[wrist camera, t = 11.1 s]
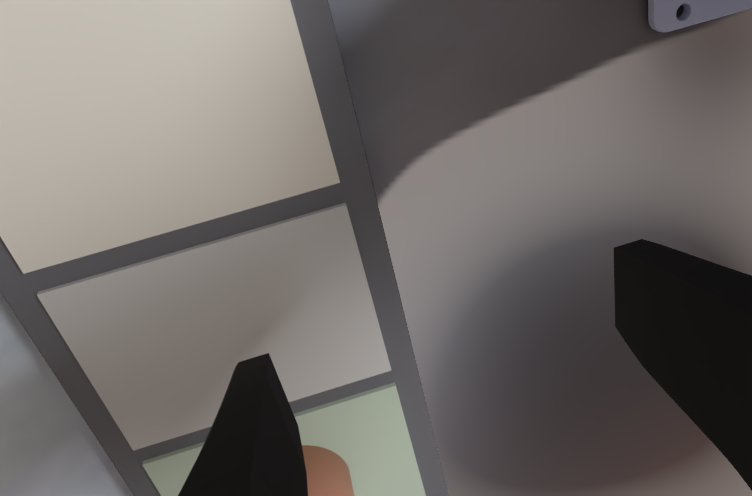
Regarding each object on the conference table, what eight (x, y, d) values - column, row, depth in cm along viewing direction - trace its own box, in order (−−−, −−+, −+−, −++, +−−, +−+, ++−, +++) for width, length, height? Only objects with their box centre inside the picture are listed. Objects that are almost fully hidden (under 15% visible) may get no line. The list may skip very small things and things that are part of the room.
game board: (174, -609, 12) (167, -660, 11) (442, 479, 28) (450, 501, 27) (-469, -482, 11) (-544, -525, 10) (192, 561, 28) (190, 586, 26)
